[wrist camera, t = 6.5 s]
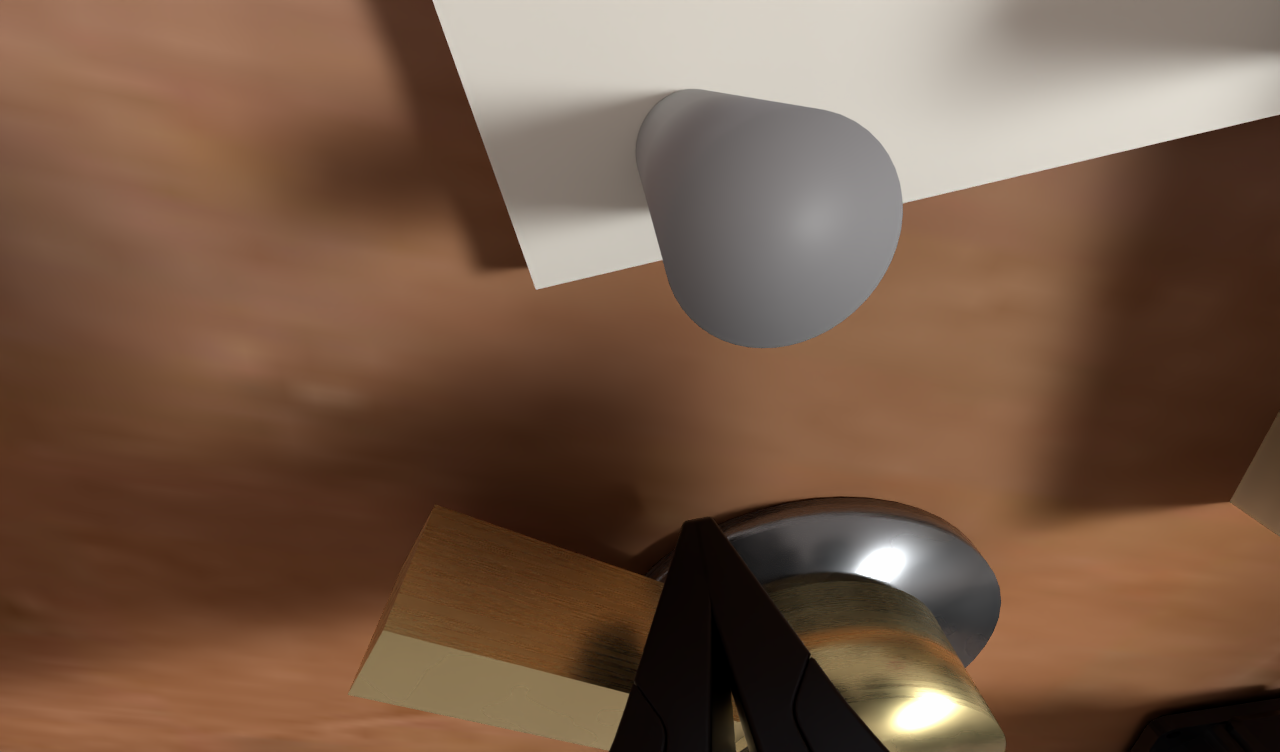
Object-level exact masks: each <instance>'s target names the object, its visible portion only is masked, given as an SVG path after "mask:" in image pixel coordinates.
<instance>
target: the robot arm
mask: <svg viewBox="0 0 1280 752" xmlns="http://www.w3.org/2000/svg"><path fill="white" fill-rule="evenodd" d="M732 695H733V699H734V702H735V705H736V709H737V712H738V715H739V719H740V722H741V725H742V729H743V732H744V735H745V739H746V742H747V745H748V748H749V752H890V751H889V750H888V749H887V748H886V747H885V746H884V744H883V743H882V742H881V741H880V740H879V739H878V738H877V737H876V736H875V734H874V733H873V732H872V731H871V730H870V729H869V727H868V726H867V725H866V724H865V723H864V721H863V720H862V719H861V718H860V717H859V716H858V714H857V713H856V712H855V711H854V710H853V709H852V707H851V706H850V705H849V704H848V702H847V701H846V700H845V699H844V697H843V696H842V695H841V693H840V692H839V691H838V689H837V688H836V687H835V686H834V684H833V683H832V682H831V680H830V679H829V678H828V676H827V675H826V674H825V672H824V671H823V669H822V668H821V667H820V665H819V664H818V663H817V661H816V660H815V659H814V658H813V657H811V653H810V652H809V650H808V649H807V648H806V646H805V645H804V644H803V642H802V641H801V639H800V638H799V637H798V635H797V634H796V632H795V631H794V630H793V628H792V627H791V626H790V624H789V623H788V621H787V620H786V619H785V617H784V616H783V614H782V613H781V612H780V610H779V609H778V608H777V606H776V605H775V603H774V602H773V601H772V599H771V598H770V596H769V595H768V594H767V592H766V591H765V590H764V588H763V587H762V585H761V584H760V583H759V581H758V580H757V578H756V577H755V576H754V574H753V573H752V572H751V570H750V569H749V567H748V566H747V565H746V563H745V562H744V560H743V559H742V558H741V556H740V555H739V554H738V552H737V551H736V549H735V548H734V547H733V545H732V544H731V542H730V541H729V540H728V538H727V537H726V536H725V534H724V533H723V531H722V530H721V529H720V527H719V526H718V524H717V523H716V522H715V520H714V519H713V518H712V517H704V518H699V519H693V520H688V521H685V522H684V523H683V525H682V528H681V531H680V534H679V537H678V541H677V544H676V547H675V550H674V553H673V557H672V560H671V563H670V566H669V569H668V572H667V576H666V579H665V582H664V585H663V588H662V592H661V595H660V598H659V601H658V604H657V608H656V611H655V614H654V617H653V620H652V624H651V627H650V630H649V633H648V636H647V639H646V643H645V646H644V649H643V652H642V655H641V659H640V662H639V665H638V668H637V671H636V675H635V678H634V684H633V685H632V687H631V690H630V693H629V696H628V699H627V703H626V706H625V709H624V712H623V715H622V717H621V720H620V723H619V726H618V729H617V732H616V735H615V738H614V740H613V743H612V745H611V748H610V750H609V752H736V744H735V731H734V718H733V705H732ZM1130 752H1280V698H1277V699H1271V700H1264V701H1258V702H1251V703H1245V704H1238V705H1232V706H1225V707H1219V708H1212V709H1206V710H1199V711H1193V712H1186V713H1180V714H1173V715H1167V716H1163V717H1159V718H1157V719H1155V720H1153V721H1151V722H1150V723H1149V724H1148V725H1147V727H1146V728H1145V730H1144V731H1143V733H1142V734H1141V736H1140V737H1139V739H1138V740H1137V742H1136V743H1135V745H1134V746H1133V748H1132V749H1131V751H1130Z"/></svg>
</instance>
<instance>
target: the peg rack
mask: <svg viewBox="0 0 1280 752" xmlns="http://www.w3.org/2000/svg"><path fill="white" fill-rule="evenodd" d="M432 1H433V3H434V6H435V9H436V12H437V15H438V17H439V20H440V23H441V26H442V29H443V31H444V34H445V37H446V40H447V42H448V45H449V48H450V51H451V54H452V56H453V59H454V62H455V65H456V68H457V70H458V73H459V76H460V79H461V82H462V84H463V87H464V90H465V93H466V96H467V98H468V101H469V104H470V107H471V110H472V112H473V115H474V118H475V121H476V123H477V126H478V129H479V132H480V135H481V137H482V140H483V143H484V146H485V149H486V151H487V154H488V157H489V160H490V163H491V165H492V168H493V171H494V174H495V177H496V179H497V182H498V185H499V188H500V191H501V193H502V196H503V199H504V202H505V204H506V207H507V210H508V213H509V216H510V218H511V221H512V224H513V227H514V230H515V232H516V235H517V238H518V241H519V244H520V246H521V249H522V252H523V255H524V258H525V260H526V263H527V266H528V269H529V271H530V274H531V277H532V280H533V283H534V285H535V288H536V290H537V289H541V288H545V287H550V286H554V285H558V284H562V283H567V282H571V281H575V280H579V279H584V278H588V277H592V276H596V275H601V274H605V273H609V272H613V271H618V270H622V269H626V268H630V267H634V266H639V265H643V264H647V263H651V262H656V261H660V260H663V263H664V267H665V270H666V274H667V277H668V281H669V284H670V287H671V289H672V291H673V294H674V296H675V298H676V299H677V301H678V303H679V304H680V306H681V307H682V309H683V310H684V311H685V312H686V314H687V315H688V316H689V317H690V318H691V319H692V320H693V321H694V322H695V323H696V324H697V325H698V326H699V327H701V328H702V329H704V330H705V331H707V332H708V333H710V334H711V335H713V336H715V337H717V338H719V339H721V340H723V341H726V342H729V343H732V344H735V345H740V346H745V347H753V348H776V347H782V346H788V345H793V344H796V343H800V342H803V341H806V340H808V339H811V338H814V337H816V336H818V335H820V334H822V333H824V332H826V331H828V330H830V329H831V328H833V327H834V326H836V325H837V324H839V323H840V322H842V321H843V320H845V319H846V318H847V317H848V316H850V315H851V314H852V313H853V312H854V311H855V310H856V309H857V308H858V307H859V306H860V305H861V304H862V303H863V302H864V301H865V300H866V299H867V298H868V297H869V296H870V294H871V293H872V292H873V291H874V289H875V288H876V287H877V285H878V284H879V282H880V281H881V279H882V278H883V276H884V274H885V272H886V270H887V268H888V266H889V265H890V263H891V261H892V258H893V255H894V253H895V250H896V247H897V244H898V240H899V236H900V232H901V225H902V216H903V203H906V202H910V201H915V200H919V199H923V198H927V197H932V196H936V195H940V194H944V193H949V192H953V191H957V190H961V189H966V188H970V187H974V186H978V185H983V184H987V183H991V182H995V181H1000V180H1004V179H1008V178H1012V177H1017V176H1021V175H1025V174H1029V173H1034V172H1038V171H1042V170H1046V169H1051V168H1055V167H1059V166H1063V165H1068V164H1072V163H1076V162H1080V161H1085V160H1089V159H1093V158H1097V157H1102V156H1106V155H1110V154H1114V153H1119V152H1123V151H1127V150H1131V149H1136V148H1140V147H1144V146H1148V145H1153V144H1157V143H1161V142H1165V141H1169V140H1174V139H1178V138H1182V137H1186V136H1191V135H1195V134H1199V133H1203V132H1208V131H1212V130H1216V129H1220V128H1225V127H1229V126H1233V125H1237V124H1242V123H1246V122H1250V121H1254V120H1259V119H1263V118H1267V117H1271V116H1276V115H1280V0H432Z"/></svg>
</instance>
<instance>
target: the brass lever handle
mask: <svg viewBox="0 0 1280 752" xmlns="http://www.w3.org/2000/svg"><path fill="white" fill-rule="evenodd" d="M663 585H664V583H662V582H659V581H657V580H654V579H651V578H648V577H645V576H642V575H639V574H636V573H633V572H630V571H627V570H625V569H622V568H619V567H616V566H613V565H610V564H607V563H604V562H601V561H598V560H595V559H593V558H590V557H587V556H584V555H581V554H578V553H575V552H572V551H569V550H566V549H563V548H561V547H558V546H555V545H552V544H549V543H546V542H543V541H540V540H537V539H534V538H532V537H529V536H526V535H523V534H520V533H517V532H514V531H511V530H508V529H505V528H502V527H500V526H497V525H494V524H491V523H488V522H485V521H482V520H479V519H476V518H473V517H470V516H468V515H465V514H462V513H459V512H456V511H453V510H450V509H447V508H444V507H441V506H439V505H436V504H435V505H434V507H433V509H432V511H431V513H430V515H429V517H428V519H427V521H426V522H425V524H424V526H423V528H422V530H421V532H420V534H419V536H418V538H417V539H416V541H415V543H414V545H413V547H412V549H411V551H410V553H409V555H408V557H407V558H406V560H405V562H404V564H403V566H402V568H401V571H400V573H399V575H398V578H397V580H396V582H395V585H394V587H393V590H392V592H391V594H390V597H389V599H388V601H387V604H386V606H385V608H384V611H383V613H382V615H381V618H380V620H379V622H378V625H377V627H376V629H375V632H374V634H373V636H372V639H371V641H370V643H369V646H368V648H367V651H366V653H365V655H364V658H363V660H362V662H361V665H360V667H359V669H358V672H357V674H356V676H355V679H354V681H353V683H352V686H351V688H350V690H349V693H348V695H352V696H356V697H361V698H366V699H370V700H375V701H379V702H384V703H389V704H393V705H398V706H403V707H407V708H412V709H417V710H421V711H426V712H431V713H435V714H440V715H445V716H449V717H454V718H459V719H463V720H468V721H473V722H477V723H482V724H487V725H491V726H496V727H501V728H505V729H510V730H515V731H519V732H524V733H529V734H533V735H538V736H543V737H547V738H552V739H557V740H561V741H566V742H571V743H575V744H580V745H585V746H589V747H594V748H599V749H603V750H608V751H609V750H610V748H611V745H612V743H613V740H614V738H615V735H616V732H617V729H618V726H619V723H620V720H621V717H622V715H623V712H624V709H625V706H626V703H627V699H628V696H629V693H630V690H631V687H632V685H633V684H634V678H635V675H636V671H637V668H638V665H639V662H640V659H641V655H642V652H643V649H644V646H645V643H646V639H647V636H648V633H649V630H650V627H651V624H652V620H653V617H654V614H655V611H656V608H657V604H658V601H659V598H660V595H661V592H662V588H663ZM768 595H769V596H770V598H771V599H772V601H773V602H774V603H775V605H776V606H777V608H778V609H779V610H780V612H781V613H782V614H783V616H784V617H785V619H786V620H787V621H788V623H789V624H790V626H791V627H792V628H793V630H794V631H795V632H796V634H797V635H798V637H799V638H800V639H801V641H802V642H803V644H804V645H805V646H806V648H807V649H808V650H809V652H810V653H811V657H813V658H814V659H815V660H816V661H817V663H818V664H819V665H820V667H821V668H822V669H823V671H824V672H825V674H826V675H827V676H828V678H829V679H830V680H831V682H832V683H833V684H834V686H835V687H836V688H837V689H838V691H839V692H840V693H841V695H842V696H843V697H844V699H845V700H846V701H847V702H848V704H849V705H850V706H851V707H852V709H853V710H854V711H855V712H856V713H857V714H858V716H859V717H860V718H861V719H862V720H863V721H864V723H865V724H866V725H867V726H868V727H869V729H870V730H871V731H872V732H873V733H874V734H875V736H876V737H877V738H878V739H879V740H880V741H881V742H882V743H883V744H884V746H885V747H886V748H887V749H888V750H889V751H890V752H1005V748H1006V740H1005V735H1004V733H1003V732H1002V730H1001V728H1000V726H999V725H998V723H997V721H996V719H995V718H994V716H993V714H992V713H991V711H990V709H989V708H988V706H987V704H986V703H985V701H984V699H983V698H982V696H981V694H980V693H979V691H978V689H977V688H976V686H975V684H974V682H973V681H972V679H971V677H970V676H969V674H968V672H967V671H966V669H965V667H964V666H963V664H962V662H961V661H960V659H959V657H958V656H957V654H956V652H955V651H954V649H953V647H952V645H951V644H950V642H949V640H948V639H947V637H946V635H945V634H944V632H943V630H942V629H941V627H940V625H939V624H938V622H937V620H936V619H935V617H934V615H933V614H932V612H931V611H930V610H929V608H928V607H927V606H926V605H925V604H924V603H922V602H921V601H920V600H918V599H917V598H915V597H914V596H912V595H910V594H908V593H906V592H904V591H901V590H898V589H895V588H892V587H889V586H885V585H880V584H875V583H867V582H857V581H833V582H820V583H813V584H806V585H800V586H796V587H792V588H787V589H783V590H779V591H776V592H773V593H770V594H768ZM732 705H733V718H734V731H735V744H736V752H749V748H748V745H747V742H746V739H745V735H744V732H743V729H742V725H741V722H740V719H739V715H738V712H737V709H736V705H735V702H734V699H733V695H732Z"/></svg>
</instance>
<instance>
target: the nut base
mask: <svg viewBox="0 0 1280 752" xmlns="http://www.w3.org/2000/svg"><path fill="white" fill-rule="evenodd" d="M718 526H719V527H720V529H721V530H722V531H723V533H724V534H725V536H726V537H727V538H728V540H729V541H730V542H731V544H732V545H733V547H734V548H735V549H736V551H737V552H738V554H739V555H740V556H741V558H742V559H743V560H744V562H745V563H746V565H747V566H748V567H749V569H750V570H751V572H752V573H753V574H754V576H755V577H756V578H757V580H758V581H759V583H760V584H761V585H762V587H763V588H764V590H765V591H766V592H767V594H770V593H773V592H776V591H779V590H783V589H787V588H792V587H796V586H800V585H806V584H813V583H820V582H833V581H857V582H867V583H875V584H880V585H885V586H889V587H892V588H895V589H898V590H901V591H904V592H906V593H908V594H910V595H912V596H914V597H915V598H917V599H918V600H920V601H921V602H922V603H924V604H925V605H926V606H927V607H928V608H929V610H930V611H931V612H932V614H933V615H934V617H935V619H936V620H937V622H938V624H939V625H940V627H941V629H942V630H943V632H944V634H945V635H946V637H947V639H948V640H949V642H950V644H951V645H952V647H953V649H954V651H955V652H956V654H957V656H958V657H959V659H960V661H961V662H962V664H963V666H964V667H965V668H966V667H967V666H968V665H969V664H970V663H971V662H972V661H973V660H974V659H975V658H976V656H977V655H978V654H979V653H980V651H981V650H982V649H983V648H984V647H985V645H986V643H987V642H988V640H989V638H990V637H991V635H992V633H993V631H994V629H995V626H996V623H997V621H998V618H999V612H1000V606H1001V598H1000V588H999V585H998V582H997V579H996V577H995V574H994V573H993V571H992V570H991V568H990V567H989V565H988V564H987V562H986V561H985V559H984V558H983V557H982V555H981V554H980V553H979V552H978V550H977V549H976V548H975V546H974V545H973V544H972V542H971V541H970V540H969V539H968V538H967V537H966V536H965V535H964V534H963V533H962V532H961V531H959V530H958V529H957V528H956V527H954V526H953V525H951V524H950V523H948V522H947V521H945V520H943V519H942V518H940V517H938V516H936V515H933V514H931V513H929V512H926V511H924V510H922V509H919V508H915V507H911V506H908V505H904V504H900V503H896V502H890V501H883V500H876V499H865V498H828V499H813V500H807V501H800V502H793V503H786V504H782V505H778V506H774V507H770V508H766V509H761V510H757V511H754V512H751V513H749V514H746V515H743V516H740V517H737V518H734V519H731V520H728V521H726V522H724V523H722V524H719V525H718ZM673 553H674V550H673V551H672V552H670V553H669V554H668V555H666V556H665V557H663V558H662V559H661V560H660V561H659V562H658V563H657V564H656V565H655V566H654V567H653V568H651V569H650V570H649V571H648V572H647V573H646V574H645V577H648V578H651V579H654V580H657V581H659V582H662V583H664V582H665V579H666V576H667V572H668V569H669V566H670V563H671V560H672V557H673Z"/></svg>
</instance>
